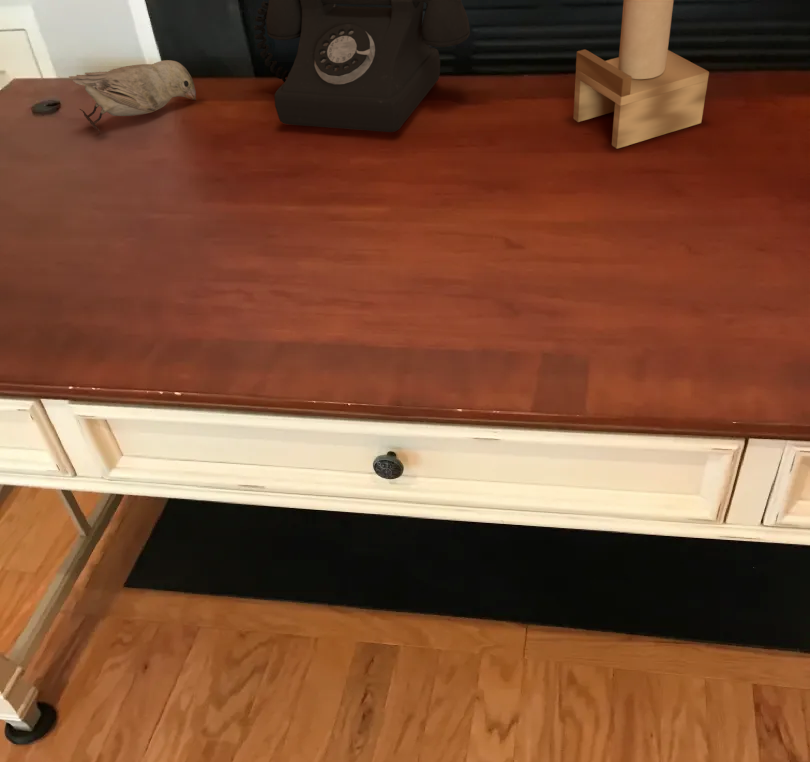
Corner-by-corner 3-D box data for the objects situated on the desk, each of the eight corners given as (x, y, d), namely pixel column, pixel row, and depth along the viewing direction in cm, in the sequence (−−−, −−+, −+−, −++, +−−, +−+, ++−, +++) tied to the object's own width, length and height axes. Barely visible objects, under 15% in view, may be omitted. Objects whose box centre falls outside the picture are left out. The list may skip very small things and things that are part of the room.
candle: (655, 82, 104) (665, -14, 97) (610, 76, 107) (617, -19, 99) (672, 64, 107) (684, -31, 100) (628, 58, 110) (636, -35, 102)
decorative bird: (204, 106, 126) (189, 49, 121) (94, 140, 122) (74, 83, 117) (191, 94, 130) (176, 38, 124) (83, 127, 125) (63, 71, 120)
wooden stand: (654, 95, 116) (661, 27, 110) (701, 123, 110) (712, 53, 104) (573, 118, 114) (576, 51, 108) (616, 149, 107) (622, 79, 101)
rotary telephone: (481, 85, 123) (478, -40, 112) (440, 143, 112) (432, 11, 101) (283, 74, 132) (262, -43, 121) (228, 126, 121) (199, 3, 110)
